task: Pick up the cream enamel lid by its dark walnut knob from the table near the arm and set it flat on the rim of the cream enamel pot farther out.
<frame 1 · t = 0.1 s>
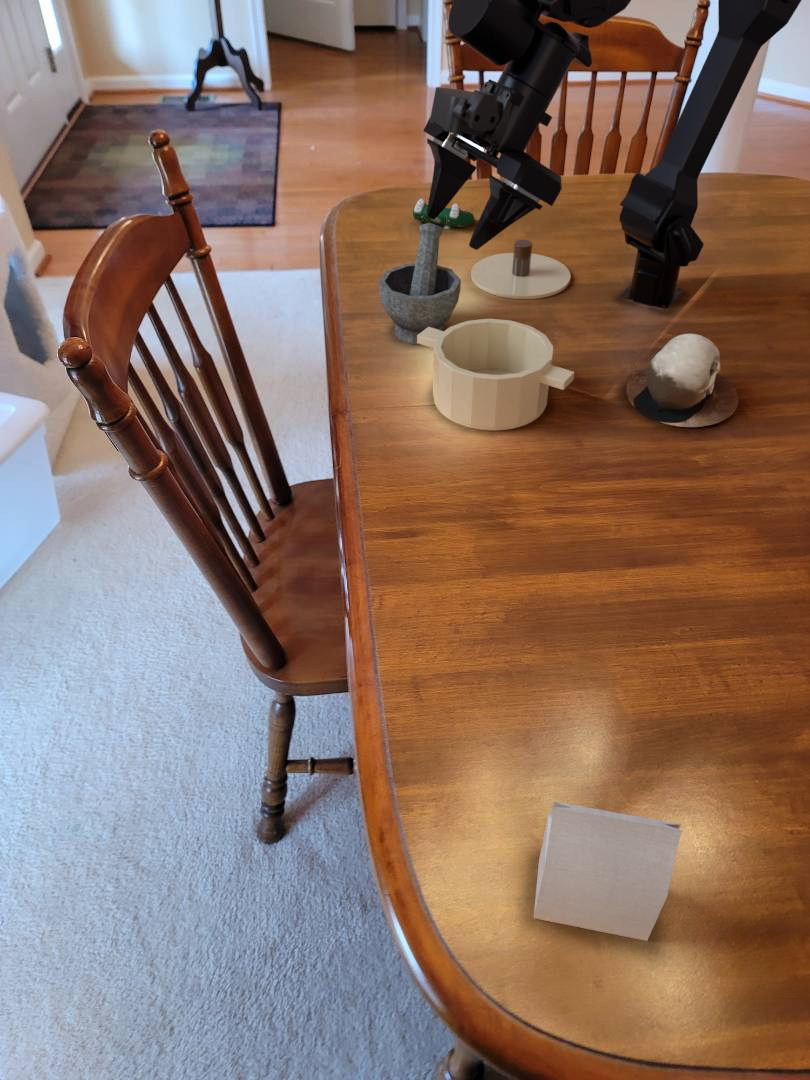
hand: (450, 232, 91), 15 cm above the table, tool tilted 35°, fingers open, 9 cm apart
green toy car: (441, 228, 129), on the table
mortar and pestle: (421, 331, 105), on the table
tea bag: (590, 901, 52), on the table
pot: (490, 398, 93), on the table
lid: (520, 276, 115), point 1 cm above the table
skull: (680, 399, 93), on the table
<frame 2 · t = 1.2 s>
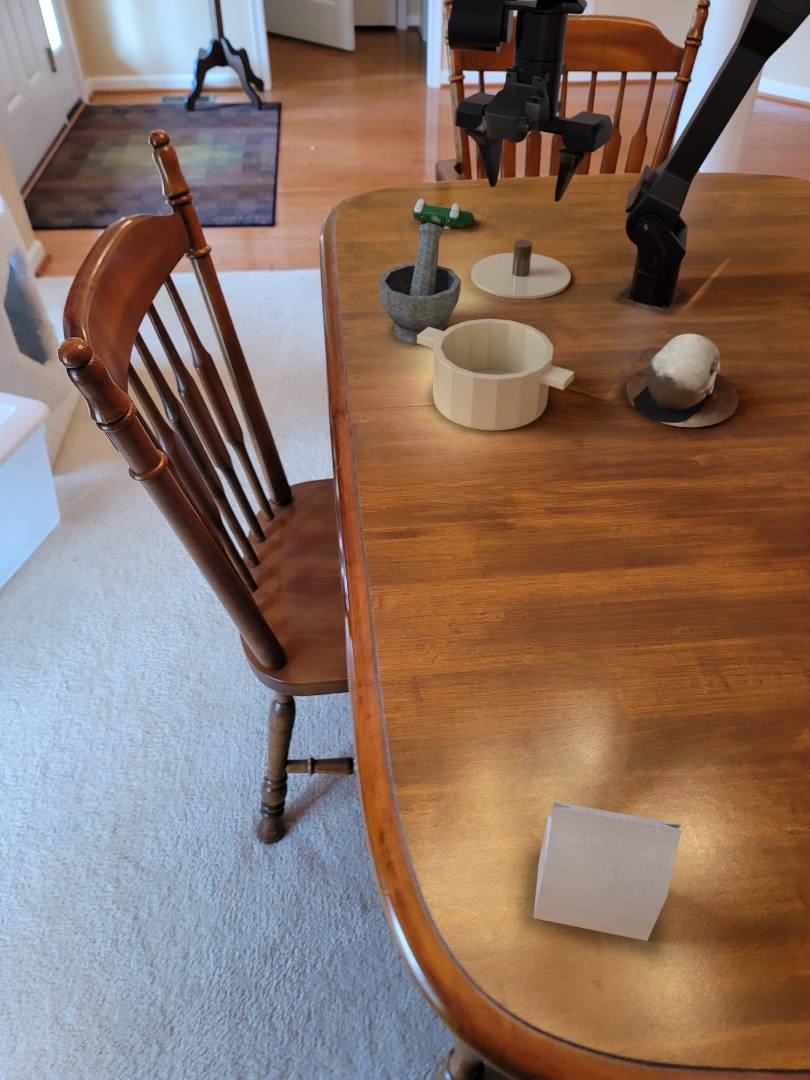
hand: (524, 193, 107), 12 cm above the table, tool pointing down, fingers open, 9 cm apart
nothing on the table moved.
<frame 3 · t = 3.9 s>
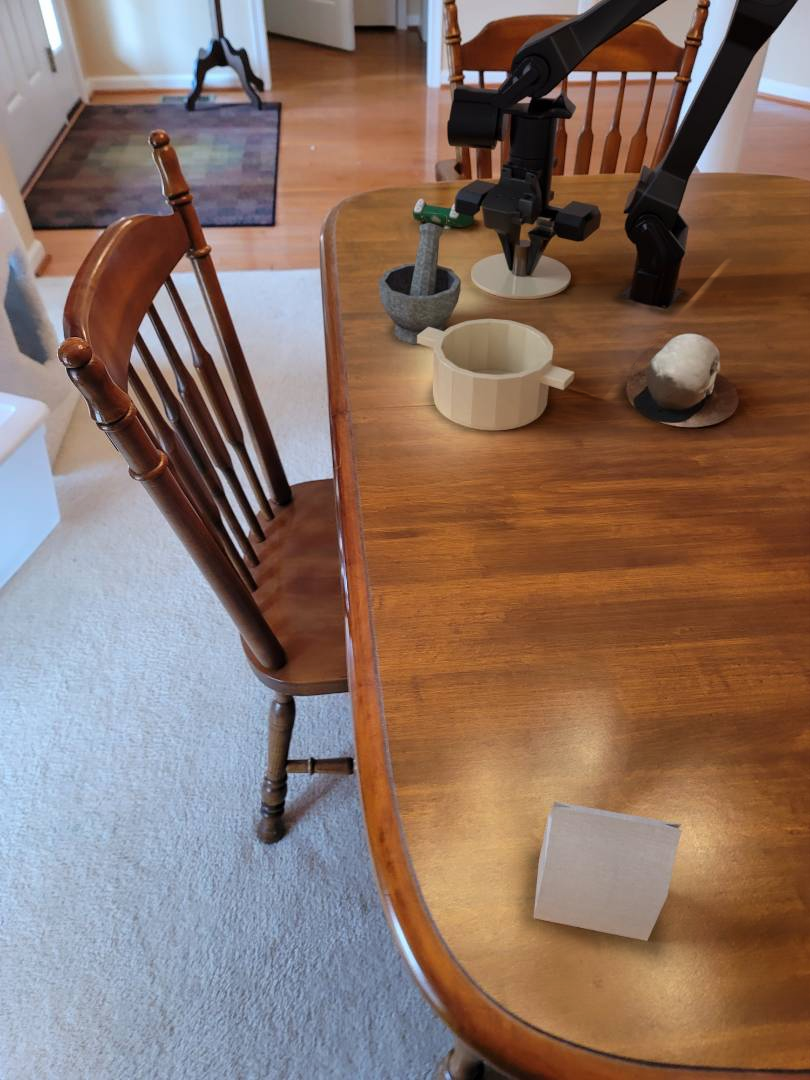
hand: (520, 272, 114), 1 cm above the table, tool pointing down, fingers closed on lid, 2 cm apart
lid: (520, 276, 115), point 1 cm above the table, touching gripper
everything else where it was.
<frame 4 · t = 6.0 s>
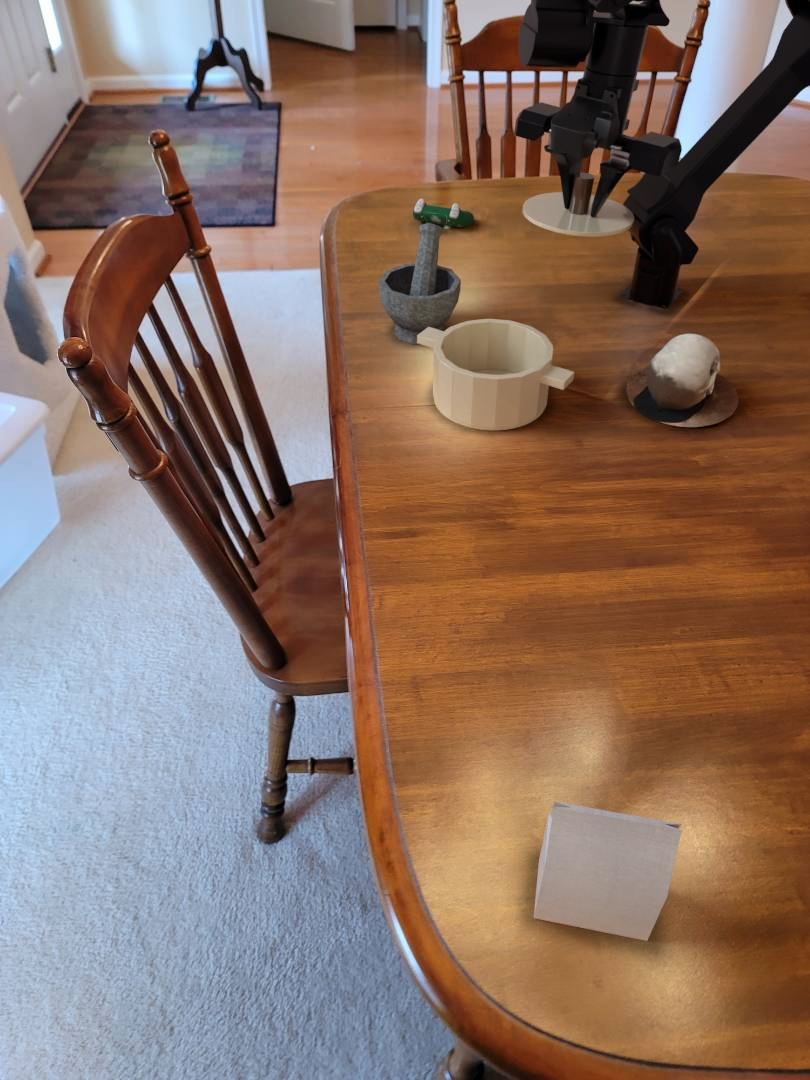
hand: (580, 212, 102), 12 cm above the table, tool pointing down, fingers closed on lid, 3 cm apart
lid: (577, 215, 102), point 11 cm above the table, touching arm, gripper
everything else where it was.
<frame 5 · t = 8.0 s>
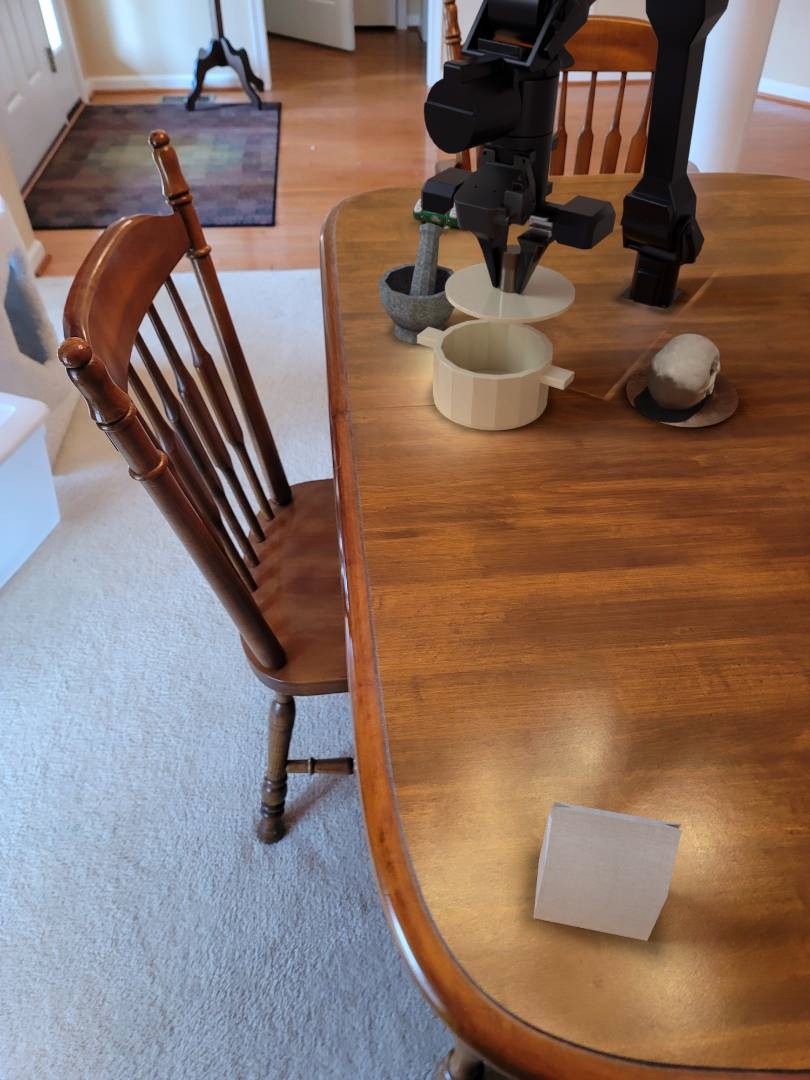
hand: (507, 289, 87), 12 cm above the table, tool pointing down, fingers closed on lid, 2 cm apart
lid: (509, 292, 88), point 11 cm above the table, touching gripper
everything else where it was.
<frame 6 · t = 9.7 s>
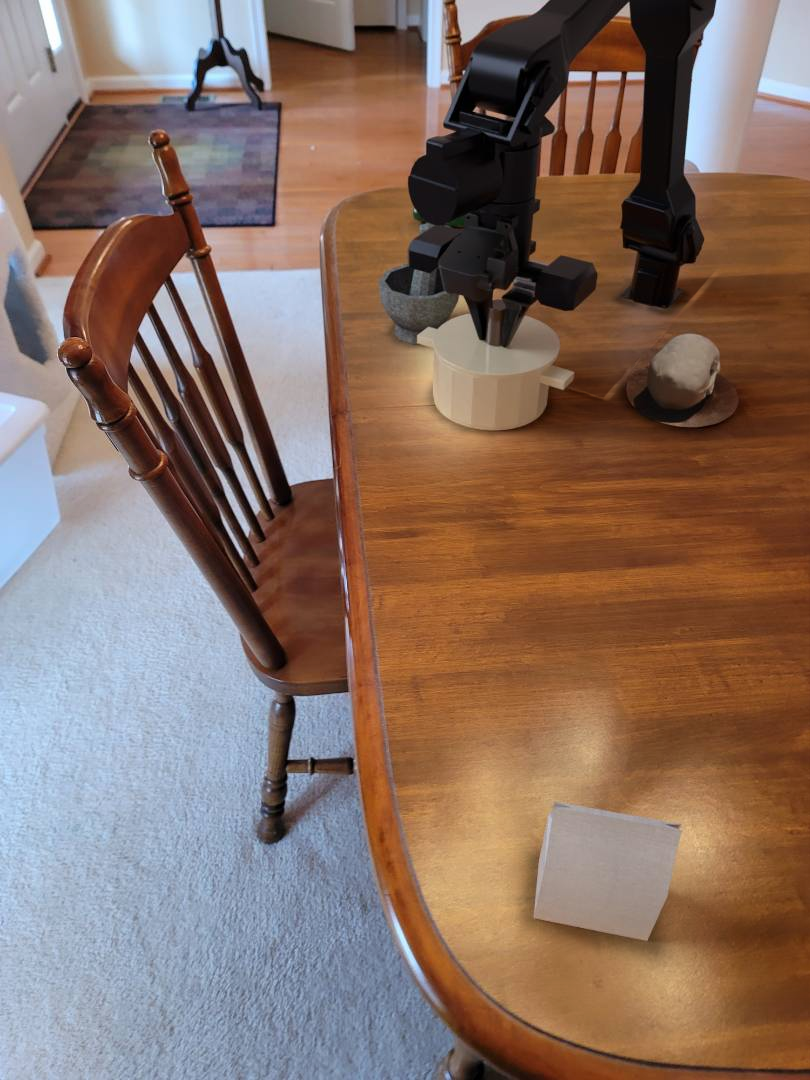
hand: (494, 342, 89), 7 cm above the table, tool pointing down, fingers closed on lid, 2 cm apart
lid: (495, 345, 89), point 6 cm above the table, touching gripper, pot
everything else where it was.
when the fingers open (7 cm above the table, at t = 9.8 s): lid stays where it is, resting on pot.
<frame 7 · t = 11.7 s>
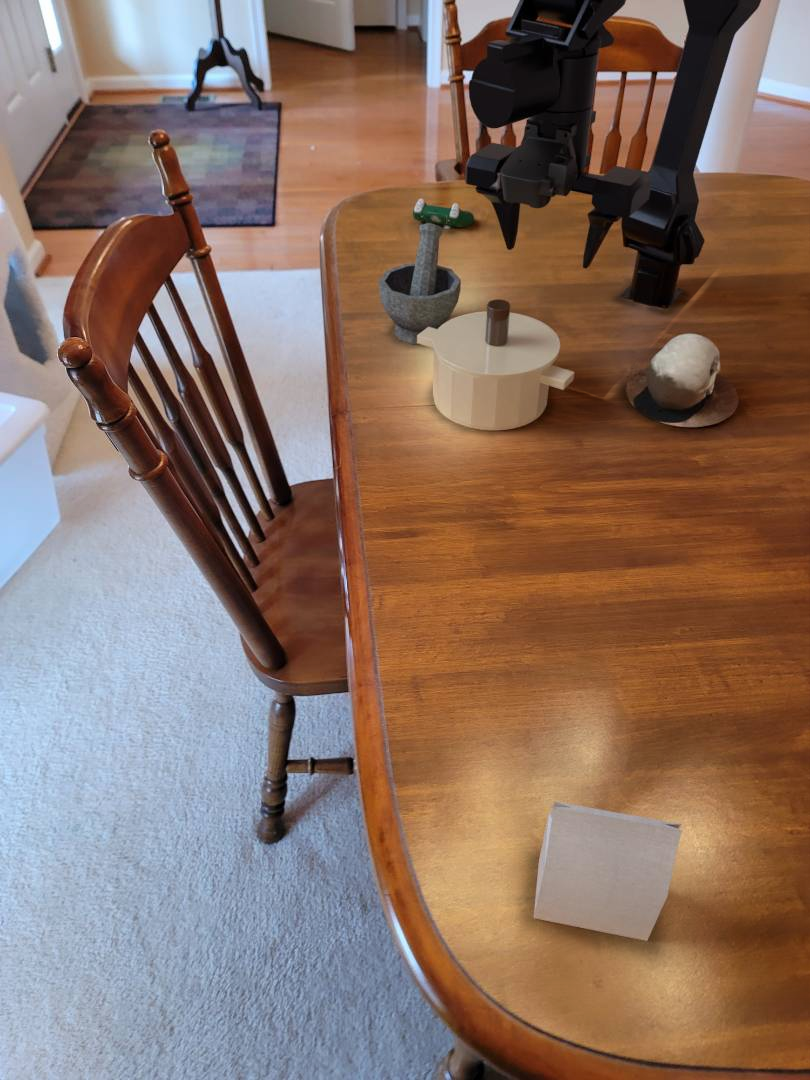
hand: (547, 257, 92), 12 cm above the table, tool pointing down, fingers open, 9 cm apart
lid: (495, 345, 89), point 6 cm above the table, touching pot
everything else where it was.
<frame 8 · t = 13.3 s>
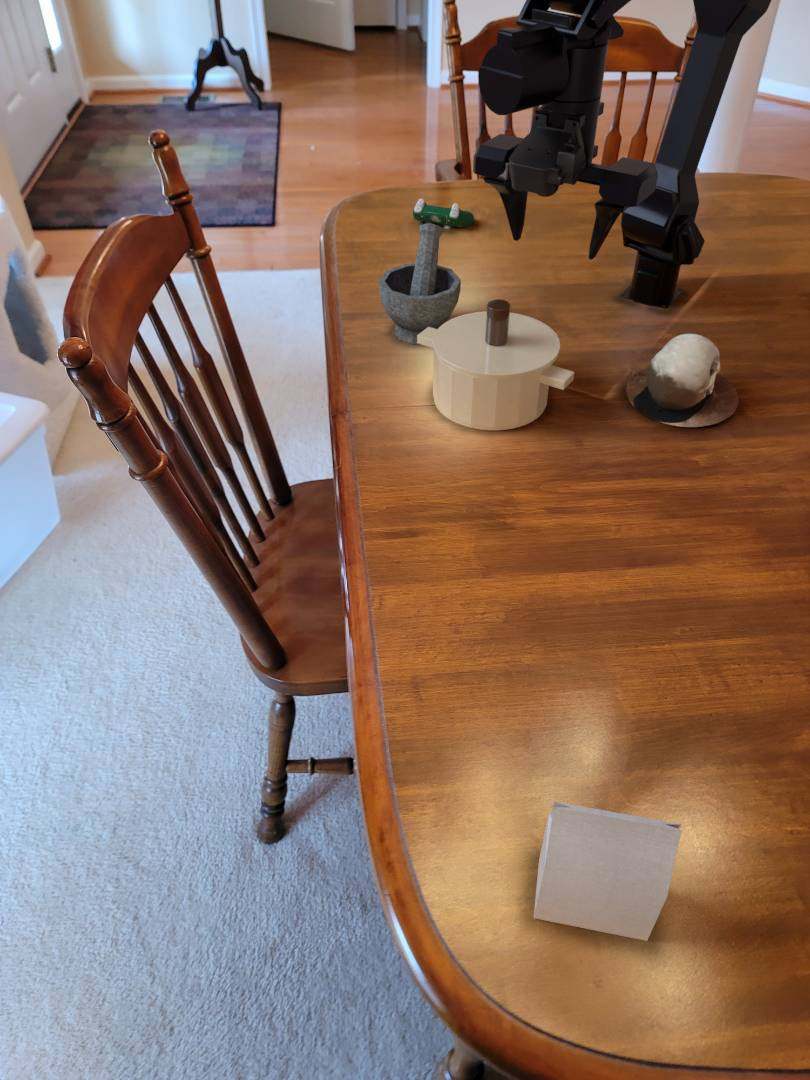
hand: (553, 248, 93), 13 cm above the table, tool pointing down, fingers open, 9 cm apart
nothing on the table moved.
at the end: lid 0.5 cm off-centre on the pot, point 6.4 cm above the pot's base; lid tilted 0°; the gripper is holding nothing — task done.
